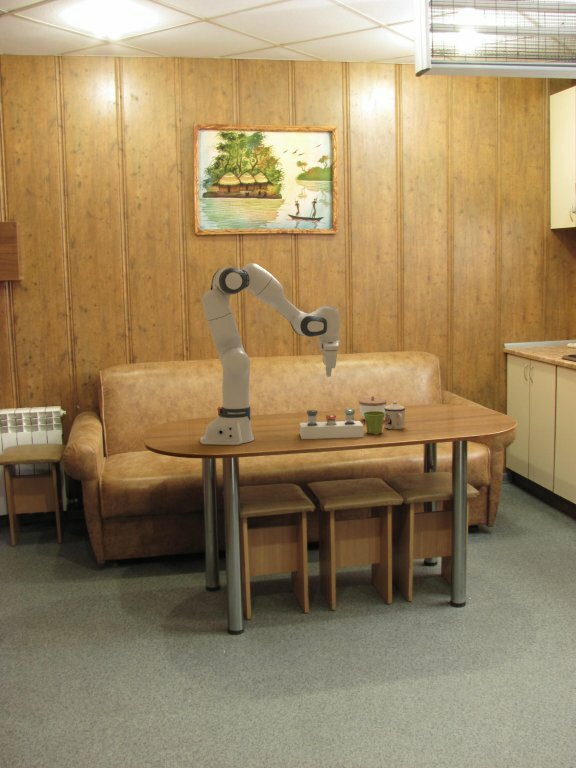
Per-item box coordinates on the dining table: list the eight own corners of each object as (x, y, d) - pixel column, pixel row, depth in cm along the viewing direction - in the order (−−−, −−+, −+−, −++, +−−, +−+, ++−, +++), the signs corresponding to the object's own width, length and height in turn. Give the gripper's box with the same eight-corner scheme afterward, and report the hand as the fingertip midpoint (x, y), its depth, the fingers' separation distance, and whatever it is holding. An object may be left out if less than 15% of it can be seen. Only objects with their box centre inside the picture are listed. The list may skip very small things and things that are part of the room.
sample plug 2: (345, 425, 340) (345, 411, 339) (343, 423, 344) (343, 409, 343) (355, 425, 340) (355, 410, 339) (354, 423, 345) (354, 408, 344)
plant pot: (368, 435, 341) (368, 415, 339) (360, 431, 350) (359, 411, 348) (388, 434, 343) (388, 414, 342) (380, 429, 352) (380, 410, 351)
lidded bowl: (362, 423, 367) (362, 399, 366) (356, 417, 380) (356, 394, 378) (389, 422, 369) (389, 398, 367) (382, 416, 381) (382, 393, 380)
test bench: (301, 439, 337) (301, 427, 336) (299, 434, 347) (299, 422, 346) (363, 437, 338) (363, 425, 338) (359, 432, 348) (359, 420, 347)
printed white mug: (381, 426, 360) (381, 400, 358) (399, 424, 362) (400, 399, 360) (391, 431, 348) (391, 405, 346) (411, 430, 351) (411, 403, 349)
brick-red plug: (326, 431, 340) (326, 416, 339) (325, 429, 344) (325, 414, 343) (336, 430, 340) (336, 416, 339) (335, 428, 344) (335, 414, 343)
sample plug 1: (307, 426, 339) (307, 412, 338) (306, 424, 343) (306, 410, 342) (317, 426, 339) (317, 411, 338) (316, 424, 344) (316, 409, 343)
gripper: (319, 341, 353) (319, 372, 355) (323, 346, 333) (323, 379, 335) (333, 341, 354) (333, 372, 356) (339, 346, 333) (338, 379, 335)
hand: (328, 376), depth 345 cm, fingers closed
